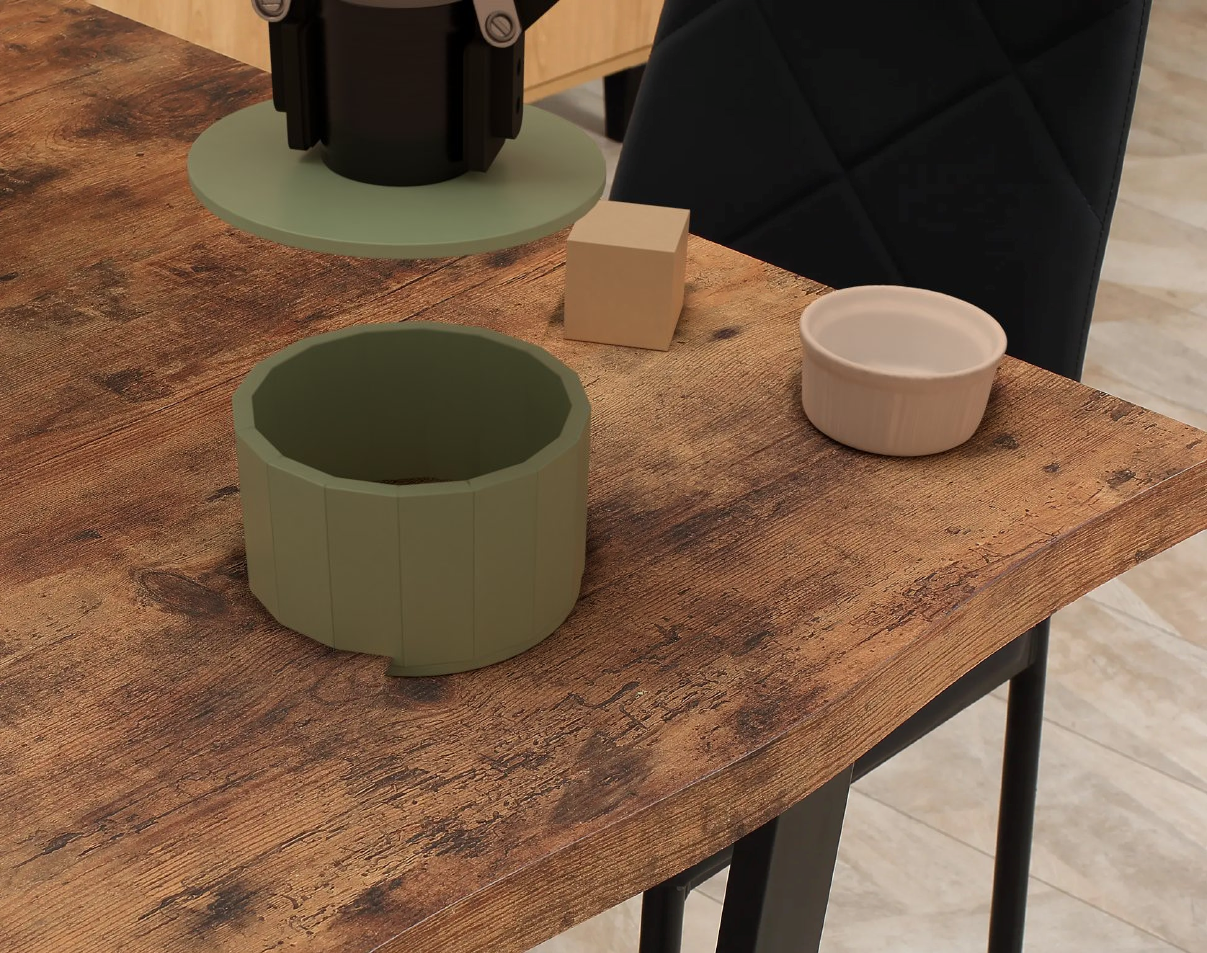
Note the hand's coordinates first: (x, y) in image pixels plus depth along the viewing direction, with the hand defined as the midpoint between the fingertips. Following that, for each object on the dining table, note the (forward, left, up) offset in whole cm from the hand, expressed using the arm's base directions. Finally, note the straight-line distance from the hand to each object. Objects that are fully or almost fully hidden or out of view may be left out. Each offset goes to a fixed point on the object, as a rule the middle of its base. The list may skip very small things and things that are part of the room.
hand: (399, 140), depth 55 cm
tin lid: (0, 0, -1) cm, 1 cm away
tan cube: (+4, +23, -17) cm, 29 cm away
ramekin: (+17, +17, -17) cm, 30 cm away
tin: (0, 0, -17) cm, 17 cm away
